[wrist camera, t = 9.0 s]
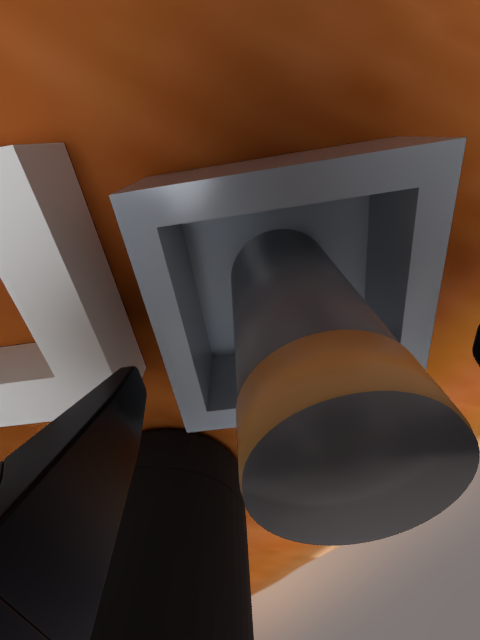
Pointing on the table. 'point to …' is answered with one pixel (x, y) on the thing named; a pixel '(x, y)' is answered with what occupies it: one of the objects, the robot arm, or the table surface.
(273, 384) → the battery cell
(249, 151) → the table surface
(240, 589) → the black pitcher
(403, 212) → the square tray
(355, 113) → the table surface
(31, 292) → the square frame
